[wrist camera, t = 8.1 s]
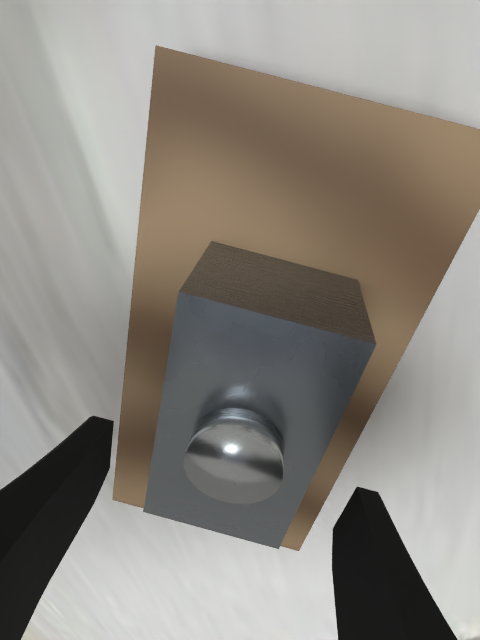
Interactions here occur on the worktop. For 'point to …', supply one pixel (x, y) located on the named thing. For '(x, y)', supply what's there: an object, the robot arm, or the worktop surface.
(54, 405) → the worktop surface
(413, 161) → the stand
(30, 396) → the worktop surface
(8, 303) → the worktop surface
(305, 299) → the block
